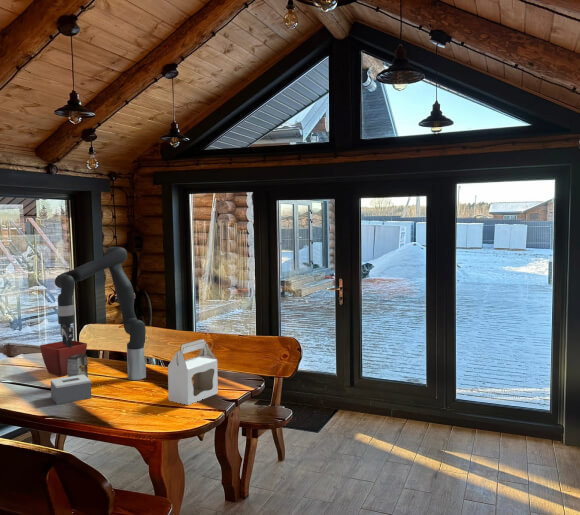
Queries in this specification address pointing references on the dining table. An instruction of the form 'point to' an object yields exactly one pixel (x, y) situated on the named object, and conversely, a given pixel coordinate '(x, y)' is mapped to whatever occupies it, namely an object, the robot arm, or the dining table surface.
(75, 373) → the coffee box
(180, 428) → the dining table surface
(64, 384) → the box
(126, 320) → the robot arm
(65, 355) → the plant pot
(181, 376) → the gable box
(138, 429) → the dining table surface
